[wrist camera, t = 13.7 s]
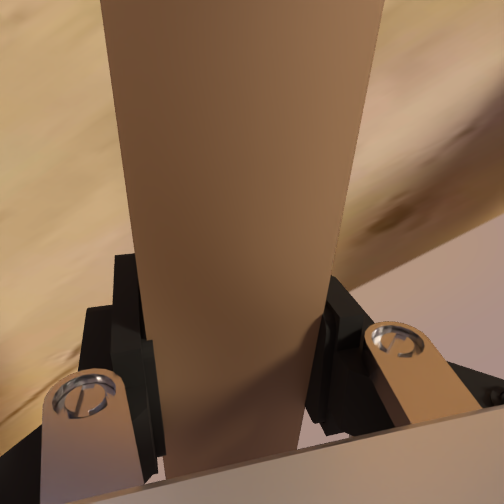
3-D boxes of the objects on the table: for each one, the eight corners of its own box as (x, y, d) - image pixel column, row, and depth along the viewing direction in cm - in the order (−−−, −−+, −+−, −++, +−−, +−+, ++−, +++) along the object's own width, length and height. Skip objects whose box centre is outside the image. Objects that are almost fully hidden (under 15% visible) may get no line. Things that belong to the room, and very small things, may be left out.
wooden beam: (298, -321, 7) (501, -599, 3) (245, 451, 20) (273, 566, 16) (63, -369, 6) (-13, -814, 2) (168, 468, 19) (181, 592, 15)
